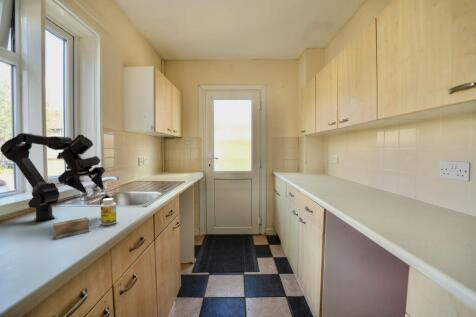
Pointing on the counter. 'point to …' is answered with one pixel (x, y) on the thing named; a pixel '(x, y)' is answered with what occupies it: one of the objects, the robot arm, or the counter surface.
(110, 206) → the supplement bottle
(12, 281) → the counter surface
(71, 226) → the block
